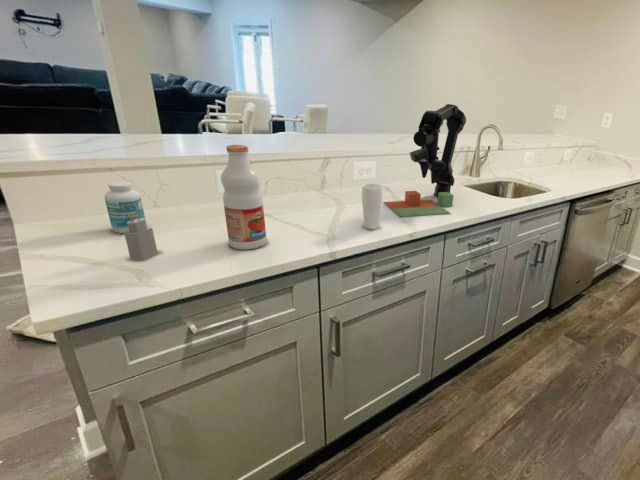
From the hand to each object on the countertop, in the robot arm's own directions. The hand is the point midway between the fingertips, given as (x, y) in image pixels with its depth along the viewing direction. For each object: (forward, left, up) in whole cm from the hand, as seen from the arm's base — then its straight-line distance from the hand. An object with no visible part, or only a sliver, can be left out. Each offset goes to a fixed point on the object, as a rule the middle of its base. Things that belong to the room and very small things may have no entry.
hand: (428, 180), depth 164 cm
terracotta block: (+6, -1, -10) cm, 12 cm away
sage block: (-9, +1, -11) cm, 14 cm away
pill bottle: (+97, +8, -11) cm, 98 cm away
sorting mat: (+6, +4, -11) cm, 13 cm away
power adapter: (+92, +28, -11) cm, 97 cm away
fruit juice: (+69, +26, -11) cm, 75 cm away
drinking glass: (+31, +21, -11) cm, 40 cm away
